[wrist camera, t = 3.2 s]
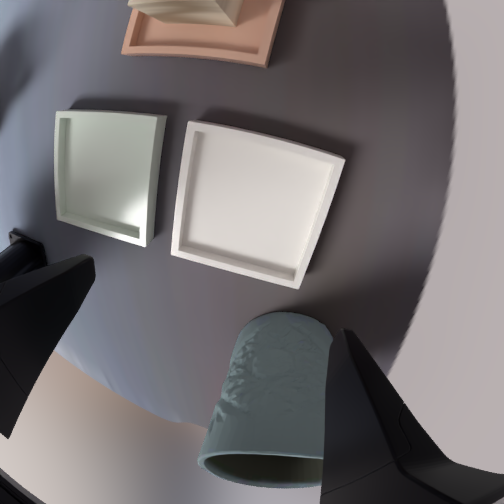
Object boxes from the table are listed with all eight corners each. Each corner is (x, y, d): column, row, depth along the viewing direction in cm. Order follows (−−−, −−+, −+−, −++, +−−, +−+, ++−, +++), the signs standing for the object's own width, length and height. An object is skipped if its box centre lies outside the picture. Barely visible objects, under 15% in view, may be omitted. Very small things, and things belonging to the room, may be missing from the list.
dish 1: (67, 213, 20) (57, 219, 19) (68, 109, 16) (56, 111, 14) (153, 238, 20) (145, 247, 19) (167, 115, 15) (157, 116, 14)
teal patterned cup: (272, 283, 20) (247, 439, 10) (367, 338, 22) (387, 467, 12) (212, 351, 25) (175, 465, 15) (297, 390, 27) (288, 494, 16)
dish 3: (178, 245, 20) (170, 254, 19) (196, 120, 15) (188, 121, 14) (298, 277, 20) (298, 289, 19) (341, 155, 15) (345, 160, 14)
